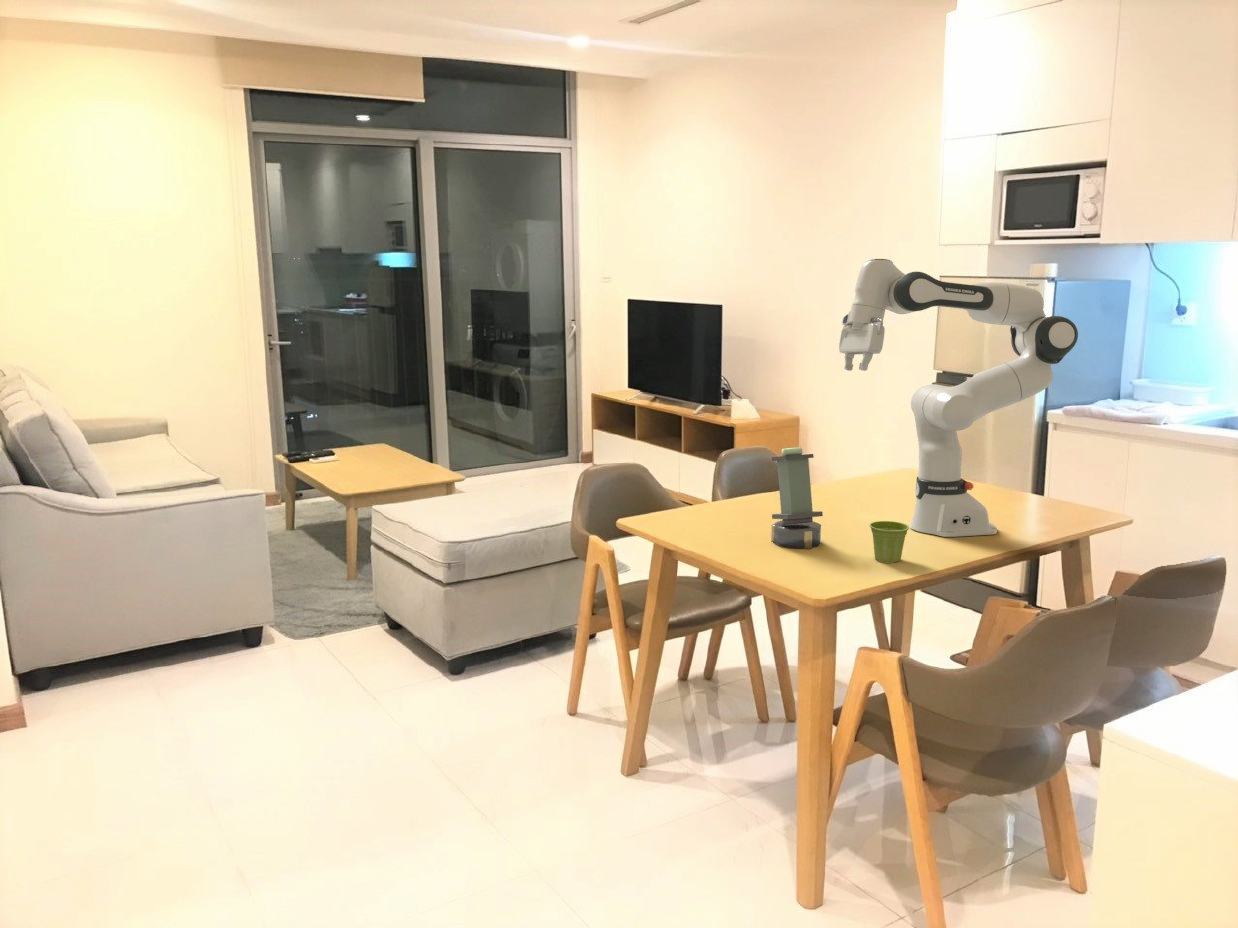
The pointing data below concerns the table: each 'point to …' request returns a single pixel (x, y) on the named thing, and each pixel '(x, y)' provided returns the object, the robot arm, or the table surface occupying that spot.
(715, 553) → the table surface
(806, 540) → the base
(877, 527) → the plant pot
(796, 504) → the green square column
